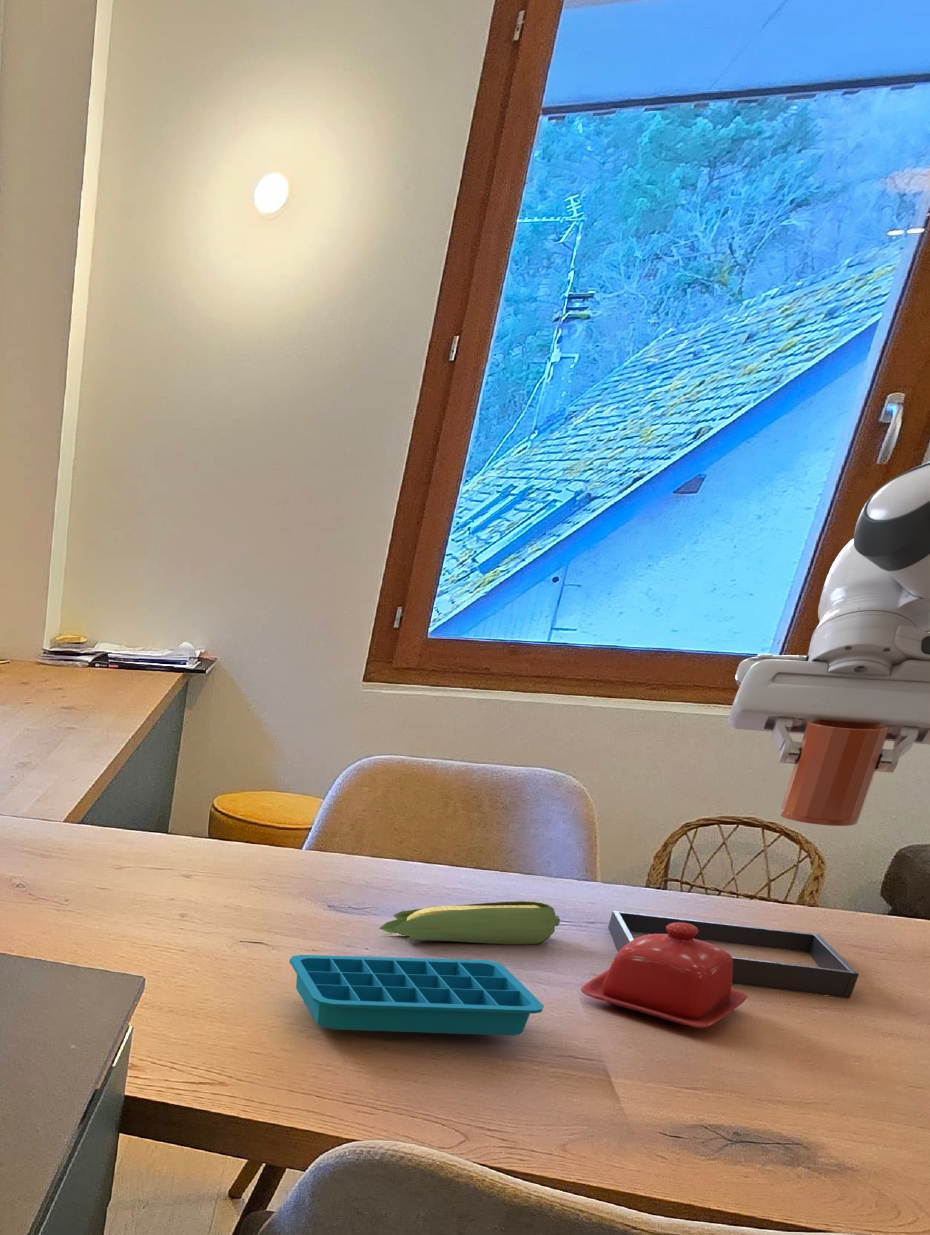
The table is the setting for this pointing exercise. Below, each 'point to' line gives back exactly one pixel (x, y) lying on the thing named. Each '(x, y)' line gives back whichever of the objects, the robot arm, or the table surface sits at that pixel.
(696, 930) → the butter dish
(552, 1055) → the table surface
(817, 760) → the cup
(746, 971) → the tray
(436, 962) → the ice cube tray
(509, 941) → the edible corn
